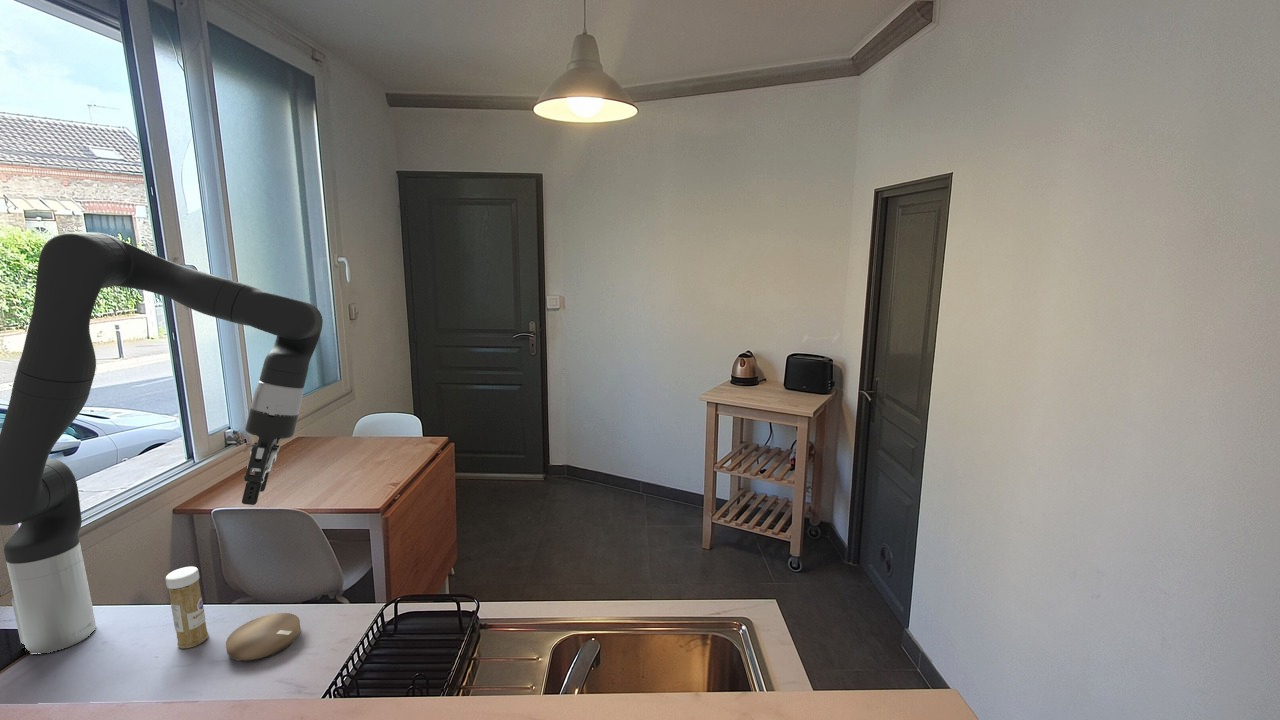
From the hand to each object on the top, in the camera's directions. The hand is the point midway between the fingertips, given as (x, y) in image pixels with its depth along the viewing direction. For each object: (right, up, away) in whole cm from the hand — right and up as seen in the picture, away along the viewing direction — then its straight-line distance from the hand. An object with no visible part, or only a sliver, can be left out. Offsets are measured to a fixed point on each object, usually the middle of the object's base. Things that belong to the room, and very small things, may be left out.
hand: (253, 497), depth 105 cm
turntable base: (+3, -26, -1) cm, 26 cm away
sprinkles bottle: (-11, -26, 0) cm, 28 cm away
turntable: (+3, -25, -2) cm, 25 cm away
